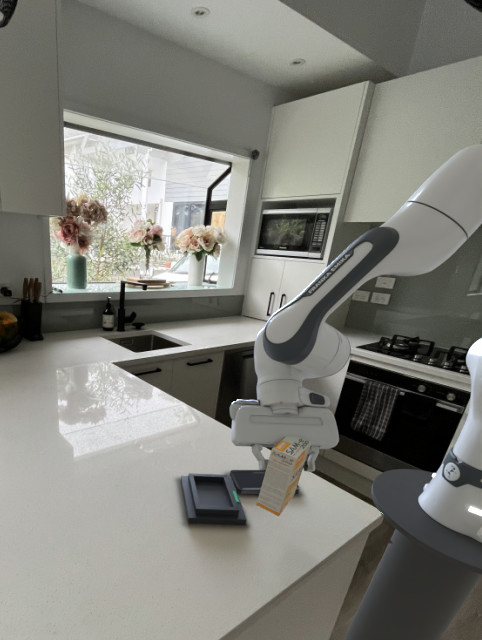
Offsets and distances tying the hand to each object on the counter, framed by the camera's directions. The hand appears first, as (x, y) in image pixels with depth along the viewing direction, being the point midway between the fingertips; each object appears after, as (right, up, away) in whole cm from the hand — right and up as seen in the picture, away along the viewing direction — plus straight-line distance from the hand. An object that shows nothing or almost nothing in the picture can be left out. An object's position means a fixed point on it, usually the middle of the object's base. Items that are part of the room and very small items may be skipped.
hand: (287, 470), depth 71 cm
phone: (+2, -7, +20) cm, 21 cm away
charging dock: (-12, -9, +13) cm, 20 cm away
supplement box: (-1, -7, +3) cm, 7 cm away
